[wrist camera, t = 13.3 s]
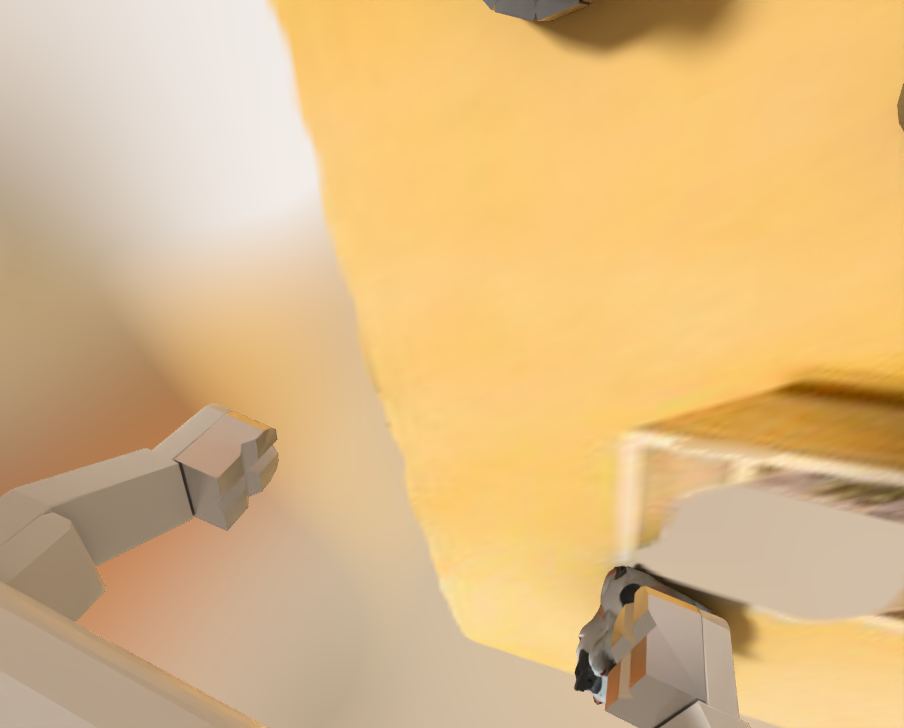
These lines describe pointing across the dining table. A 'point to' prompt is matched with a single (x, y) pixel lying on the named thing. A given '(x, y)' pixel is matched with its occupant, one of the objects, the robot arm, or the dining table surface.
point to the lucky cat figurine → (598, 632)
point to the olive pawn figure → (901, 108)
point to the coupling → (537, 8)
